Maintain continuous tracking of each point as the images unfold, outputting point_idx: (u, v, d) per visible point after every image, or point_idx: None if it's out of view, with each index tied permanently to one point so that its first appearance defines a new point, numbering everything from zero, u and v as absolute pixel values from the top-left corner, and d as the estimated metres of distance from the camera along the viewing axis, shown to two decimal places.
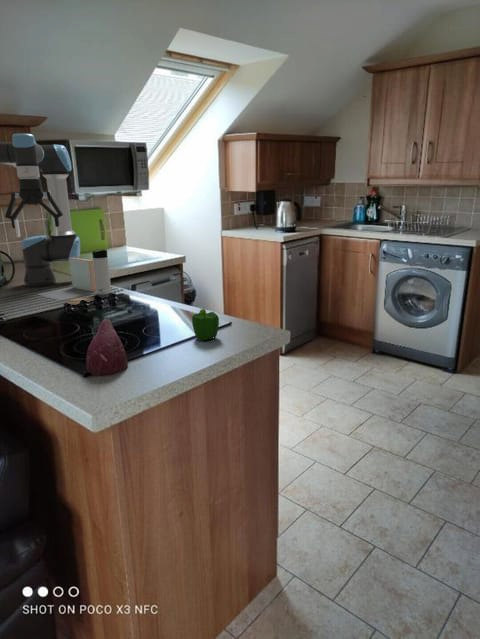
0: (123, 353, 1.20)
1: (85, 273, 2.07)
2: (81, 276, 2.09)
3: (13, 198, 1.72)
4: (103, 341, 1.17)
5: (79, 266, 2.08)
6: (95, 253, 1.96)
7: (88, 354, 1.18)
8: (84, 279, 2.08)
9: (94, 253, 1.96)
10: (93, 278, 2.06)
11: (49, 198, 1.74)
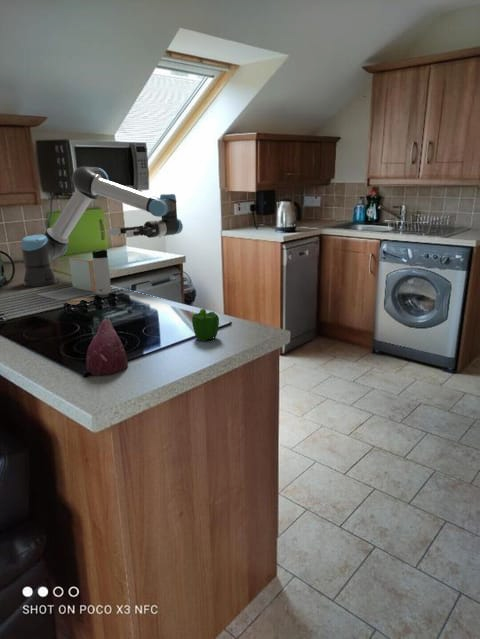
0: (123, 353, 1.20)
1: (85, 273, 2.07)
2: (81, 276, 2.09)
3: (151, 233, 2.10)
4: (103, 341, 1.17)
5: (79, 266, 2.08)
6: (95, 253, 1.96)
7: (88, 354, 1.18)
8: (84, 279, 2.08)
9: (94, 253, 1.96)
10: (93, 278, 2.06)
11: None
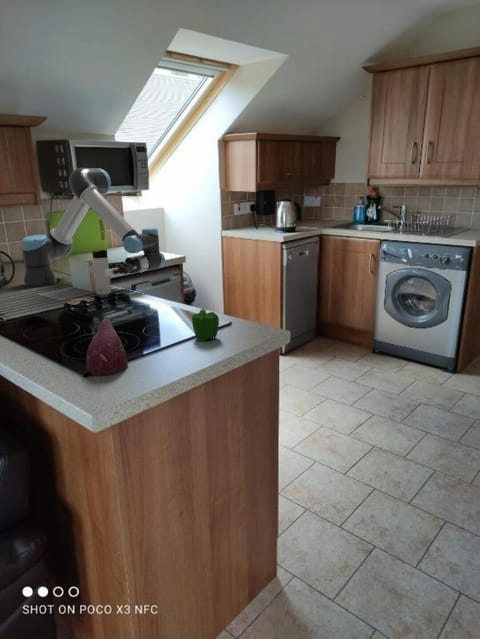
0: (123, 353, 1.20)
1: (85, 273, 2.07)
2: (81, 276, 2.09)
3: (132, 270, 2.05)
4: (103, 341, 1.17)
5: (79, 266, 2.08)
6: (95, 253, 1.96)
7: (88, 354, 1.18)
8: (84, 279, 2.08)
9: (94, 253, 1.96)
10: (93, 278, 2.06)
11: None
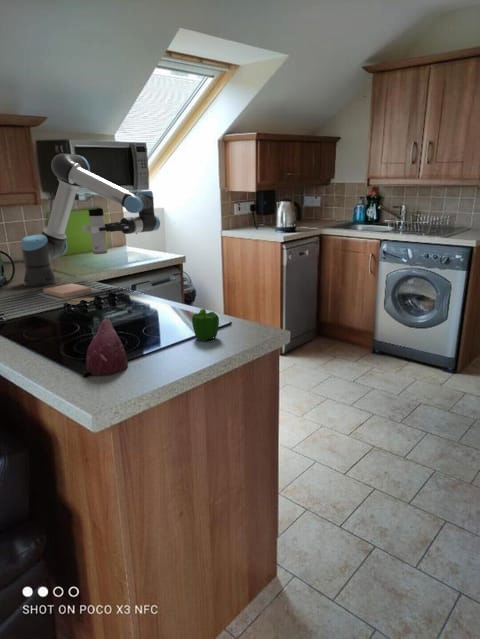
0: (123, 353, 1.20)
1: None
2: None
3: (123, 230, 2.11)
4: (103, 341, 1.17)
5: None
6: (91, 211, 2.02)
7: (88, 354, 1.18)
8: None
9: (90, 211, 2.02)
10: (79, 291, 2.02)
11: None
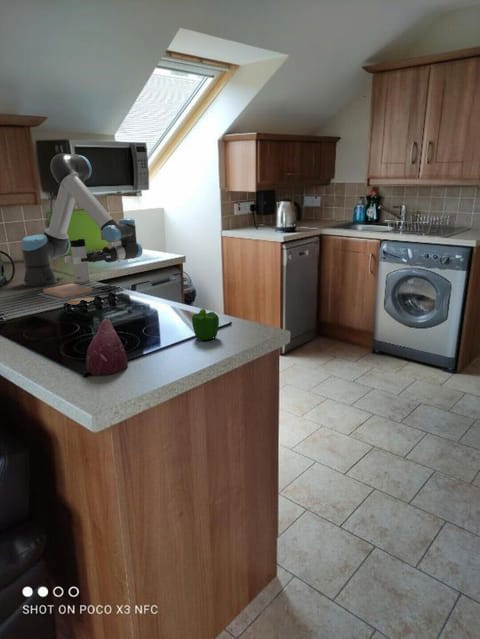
0: (123, 353, 1.20)
1: None
2: None
3: (106, 259, 2.11)
4: (103, 341, 1.17)
5: None
6: (73, 242, 2.02)
7: (88, 354, 1.18)
8: None
9: (72, 242, 2.02)
10: (79, 291, 2.02)
11: None
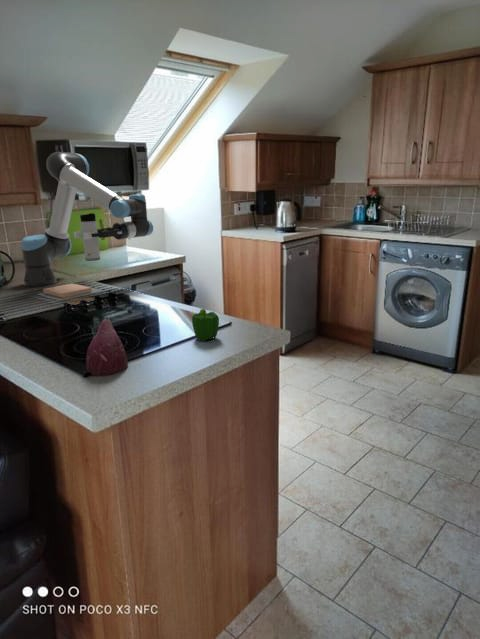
0: (123, 353, 1.20)
1: None
2: None
3: (117, 235, 2.03)
4: (103, 341, 1.17)
5: None
6: (83, 216, 1.94)
7: (88, 354, 1.18)
8: None
9: (82, 216, 1.94)
10: (79, 291, 2.02)
11: None
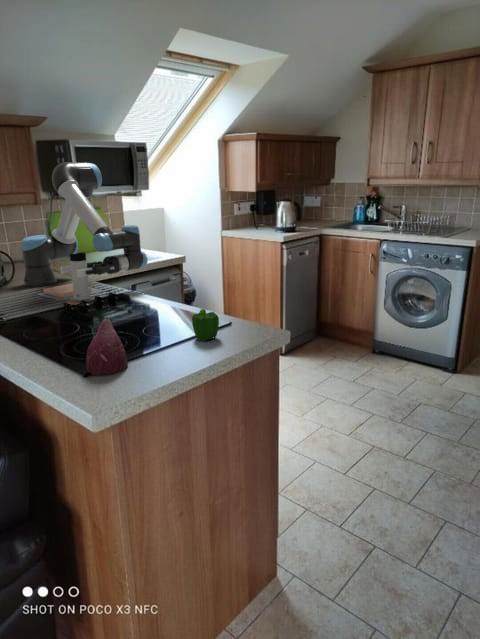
0: (123, 353, 1.20)
1: None
2: None
3: (109, 271, 1.91)
4: (103, 341, 1.17)
5: None
6: (72, 256, 1.82)
7: (88, 354, 1.18)
8: None
9: (71, 256, 1.82)
10: None
11: None
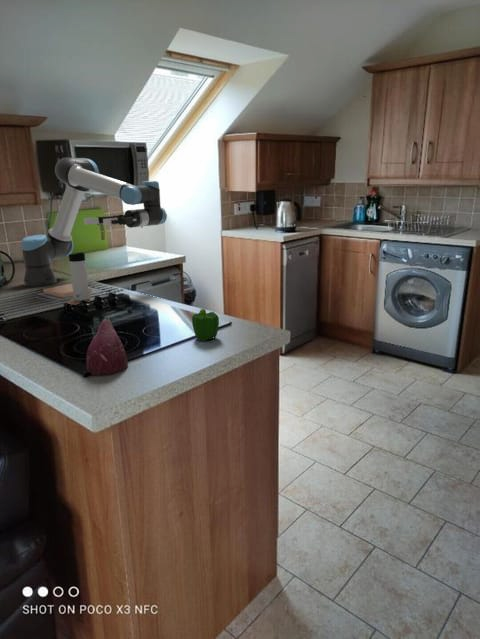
0: (123, 353, 1.20)
1: None
2: None
3: (132, 222, 1.95)
4: (104, 341, 1.17)
5: None
6: (71, 256, 1.82)
7: (88, 354, 1.18)
8: None
9: (70, 256, 1.82)
10: None
11: None
